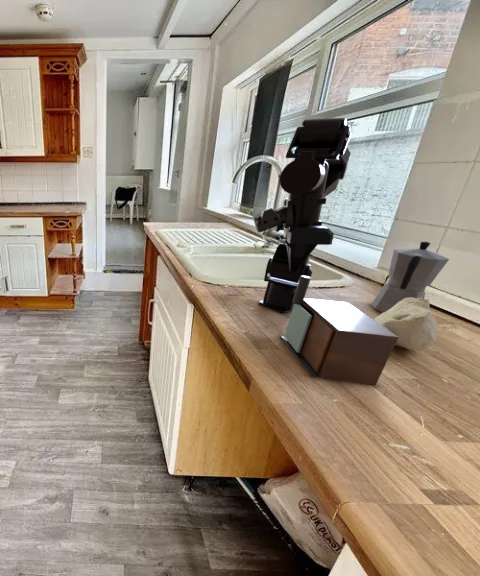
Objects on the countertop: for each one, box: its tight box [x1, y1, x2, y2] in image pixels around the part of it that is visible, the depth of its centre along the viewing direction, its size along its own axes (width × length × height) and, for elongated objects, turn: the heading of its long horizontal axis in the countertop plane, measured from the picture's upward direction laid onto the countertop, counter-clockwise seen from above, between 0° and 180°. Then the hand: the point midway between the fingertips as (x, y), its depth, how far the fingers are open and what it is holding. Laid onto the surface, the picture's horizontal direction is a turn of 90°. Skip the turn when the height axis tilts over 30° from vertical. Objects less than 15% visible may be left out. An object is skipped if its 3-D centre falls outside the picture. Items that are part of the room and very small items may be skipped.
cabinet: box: [280, 297, 399, 386], centre depth 54 cm, size 13×10×9 cm
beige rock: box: [372, 297, 438, 353], centre depth 62 cm, size 15×7×15 cm
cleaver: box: [283, 275, 312, 353], centre depth 57 cm, size 6×2×13 cm, turn 171°
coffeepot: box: [370, 240, 450, 314], centre depth 74 cm, size 15×9×18 cm, turn 129°
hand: (292, 271), depth 63 cm, fingers closed
